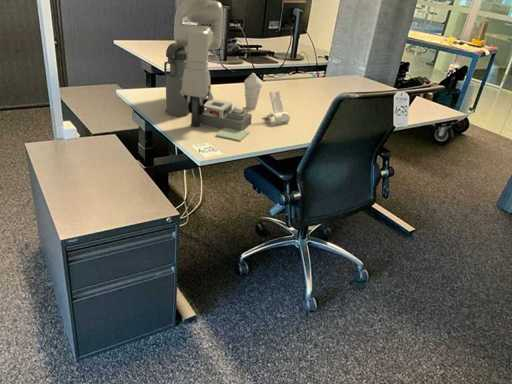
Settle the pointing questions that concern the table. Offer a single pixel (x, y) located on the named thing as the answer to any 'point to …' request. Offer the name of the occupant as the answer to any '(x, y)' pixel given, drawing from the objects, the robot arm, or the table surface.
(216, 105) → the grey push-button box
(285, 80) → the table surface
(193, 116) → the stylus
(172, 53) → the water bottle
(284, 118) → the plastic part
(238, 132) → the mat
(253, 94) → the soft serve ice cream cone
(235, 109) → the on button
